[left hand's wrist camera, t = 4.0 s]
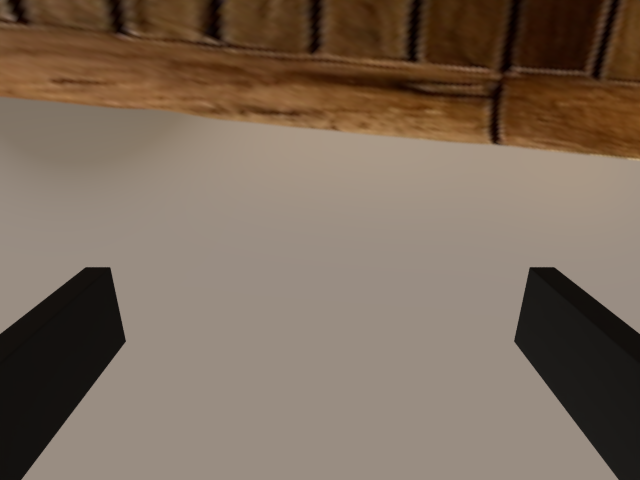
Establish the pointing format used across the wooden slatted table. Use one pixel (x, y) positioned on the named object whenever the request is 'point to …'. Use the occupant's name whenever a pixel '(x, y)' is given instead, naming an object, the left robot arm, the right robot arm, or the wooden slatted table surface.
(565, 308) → the left robot arm
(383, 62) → the wooden slatted table surface
